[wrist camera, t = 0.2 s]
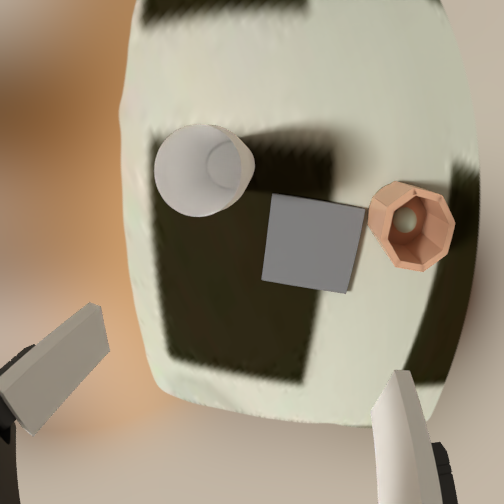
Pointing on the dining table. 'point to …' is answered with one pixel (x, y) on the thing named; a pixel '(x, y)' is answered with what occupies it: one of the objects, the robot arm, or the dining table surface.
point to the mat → (311, 243)
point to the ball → (404, 219)
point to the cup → (202, 169)
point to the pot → (425, 232)
